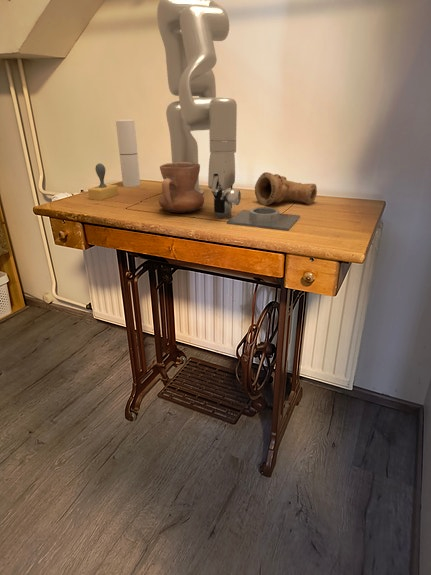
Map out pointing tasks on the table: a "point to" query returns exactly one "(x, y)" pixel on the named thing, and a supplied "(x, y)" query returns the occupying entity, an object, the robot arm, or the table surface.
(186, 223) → the table surface
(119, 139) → the cylindrical container
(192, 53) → the robot arm
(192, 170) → the ceramic jug
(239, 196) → the grey rounded piece
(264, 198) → the clay pipe
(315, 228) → the table surface
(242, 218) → the flange
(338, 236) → the table surface
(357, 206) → the table surface
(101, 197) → the rubber stamp
